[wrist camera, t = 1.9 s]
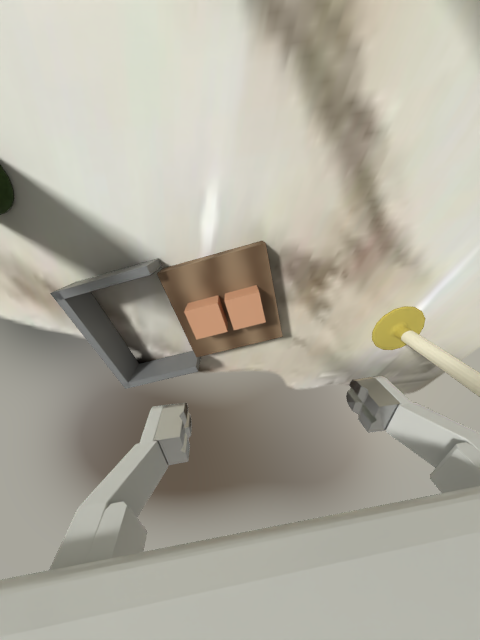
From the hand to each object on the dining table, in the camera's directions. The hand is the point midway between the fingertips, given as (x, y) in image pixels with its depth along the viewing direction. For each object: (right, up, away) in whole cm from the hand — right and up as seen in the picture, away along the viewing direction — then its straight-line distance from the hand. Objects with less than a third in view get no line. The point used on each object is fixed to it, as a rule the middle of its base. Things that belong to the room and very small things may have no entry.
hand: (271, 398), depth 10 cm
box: (-18, +3, +25) cm, 31 cm away
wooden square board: (-4, +7, +24) cm, 25 cm away
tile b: (-7, +5, +22) cm, 23 cm away
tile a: (-1, +6, +21) cm, 22 cm away
